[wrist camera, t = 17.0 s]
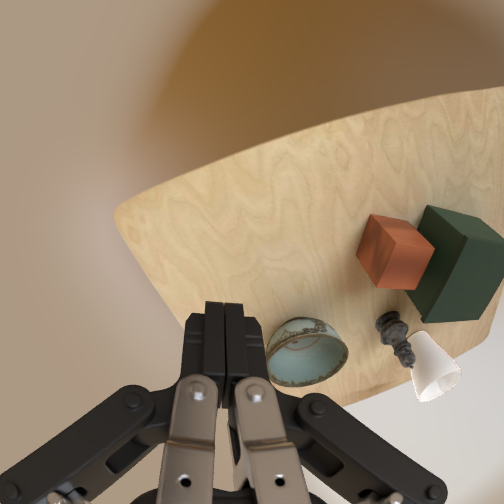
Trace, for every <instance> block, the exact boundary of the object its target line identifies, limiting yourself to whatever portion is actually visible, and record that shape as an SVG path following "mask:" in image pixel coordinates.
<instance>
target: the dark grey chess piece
mask: <svg viewBox="0 0 504 504" xmlns="http://www.w3.org/2000/svg"><path fill="white" fill-rule="evenodd" d="M376 329H377V330H378V331H381V342H382V344H384V345H392V347H393V349H394V355H395V356H398V358H399V360H400V362H401V364H402V366H403V367H410V368H411V369H413V367H414V366H412V365H413V364H414V363H415V361H416V357H415V355H414V353H413V351H412V349H411V343H410V342H408V341H407V339H406V337H405V336H406V334H407V332H408V325H407V324H406V323H404V322H403V321H401V320H400V315H399V313H398V312H396V311H391V312H388V313H385V314H384V315H382V316H381V317H380V318H379V319H378V320H377V322H376Z"/></svg>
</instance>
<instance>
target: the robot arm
mask: <svg viewBox="0 0 504 504" xmlns="http://www.w3.org/2000/svg"><path fill="white" fill-rule="evenodd" d="M221 401H222V408H225V409H226V408H227V409H228V419H229V420H228V423H227V429H228V435H229V443H230V450H231V456H232V463H233V482H234V489H235V491H233V492H228V491H224V490H219V489H215V488H213V474H214V457H215V428H216V418H217V417H216V416H217V410H218V408H220V405H221ZM161 443H165V445H164V450H163V457H162V463H161V471H160V477H159V485H158V488H157V489H153V490H150V491H148V492H146V493H144V494H142V495H140V496H139V497H137V498H136V499H135V500H134V501H132V502H131V503H130V504H327V503H326V502H325V501H323V500H322V499H321V498H319V497H317V496H316V495H314V494H312V493H310V492H308V489H307V485H306V482H305V478H304V474H303V470H302V467H301V465H303V466H304V467H305V468H306V469H308V470H309V471H310V472H311V473H312V474H313V475H315V476H316V477H317V478H319V479H320V480H321V481H322V482H323V483H325V484H326V485H327V486H329V487H330V488H331V489H332V490H334V491H335V492H336V493H338V494H339V495H341V496H342V497H343V498H344V499H346V500H347V501H349V502H350V503H351V504H444V503H445V501H446V499H447V495H448V491H447V486H446V484H445V483H444V482H443V481H442V480H441V479H440V478H438V477H437V476H435V475H434V474H432V473H431V472H429V471H428V470H426V469H425V468H423V467H422V466H420V465H419V464H417V463H416V462H415V461H413V460H412V459H410V458H409V457H408V456H406V455H405V454H403V453H402V452H400V451H399V450H398V449H396V448H395V447H393V446H392V445H391V444H389V443H388V442H387V441H385V440H384V439H382V438H381V437H380V436H378V435H377V434H376V433H374V432H373V431H372V430H370V429H369V428H368V427H366V426H365V425H364V424H362V423H361V422H360V421H358V420H357V419H356V418H355V417H353V416H352V415H351V414H349V413H348V412H347V411H345V410H344V409H343V408H342V407H340V406H339V405H338V404H337V403H335V402H334V401H333V400H332V399H330V398H329V397H327V396H326V395H324V394H320V393H310V394H307V395H305V396H304V397H302V398H298V397H295V396H291V395H287V394H284V393H282V392H280V391H278V390H277V389H276V388H275V387H274V386H273V385H272V384H271V382H270V380H269V376H268V370H267V363H266V356H265V349H264V343H263V336H262V329H261V326H260V324H259V323H258V321H257V320H256V318H255V317H244V311H243V304H239V303H223V302H210V301H206V303H205V314H200V313H191V315H190V316H189V318H188V319H187V320H186V323H185V333H184V343H183V353H182V364H181V374H180V377H179V379H178V381H177V382H176V383H175V384H174V385H173V386H171V387H169V388H167V389H164V390H159V391H153V392H149V391H148V390H147V389H146V388H144V387H142V386H139V385H127V386H124V387H122V388H120V389H119V390H118V391H116V392H115V393H114V394H112V395H111V396H110V397H108V398H107V399H106V400H104V401H103V402H102V403H100V404H99V405H97V406H96V407H95V408H93V409H92V410H91V411H89V412H88V413H87V414H85V415H84V416H83V417H81V418H80V419H79V420H77V421H76V422H74V423H73V424H72V425H70V426H69V427H68V428H66V429H65V430H63V431H62V432H61V433H59V434H58V435H56V436H55V437H54V438H52V439H51V440H50V441H48V442H47V443H45V444H44V445H43V446H41V447H40V448H38V449H37V450H36V451H34V452H33V453H31V454H30V455H28V456H27V457H25V458H24V459H23V460H21V461H20V462H18V463H17V464H16V465H14V466H13V467H11V468H10V469H8V470H7V471H5V472H4V473H2V474H1V475H0V503H1V504H91V503H90V502H91V501H92V500H93V499H95V498H96V497H97V496H98V495H100V494H101V493H102V492H103V491H105V490H106V489H107V488H108V487H110V486H111V485H112V484H113V483H115V482H116V481H117V480H118V479H119V478H121V477H122V476H123V475H124V474H125V473H126V472H128V471H129V470H130V469H131V468H132V467H134V466H135V465H136V464H137V463H138V462H139V461H141V460H142V459H143V458H144V457H145V456H146V455H147V454H148V453H150V452H151V451H152V450H153V449H154V448H155V447H156V446H157V445H158V444H161Z"/></svg>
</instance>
